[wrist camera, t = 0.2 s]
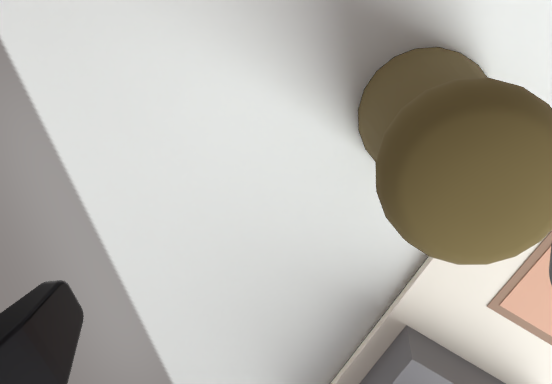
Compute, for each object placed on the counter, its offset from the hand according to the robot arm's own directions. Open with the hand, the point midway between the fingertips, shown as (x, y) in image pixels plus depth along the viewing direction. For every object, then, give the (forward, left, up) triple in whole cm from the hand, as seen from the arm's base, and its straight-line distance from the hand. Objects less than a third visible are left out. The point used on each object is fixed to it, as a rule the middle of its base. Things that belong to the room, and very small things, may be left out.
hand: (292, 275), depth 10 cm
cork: (+3, -3, -15) cm, 16 cm away
